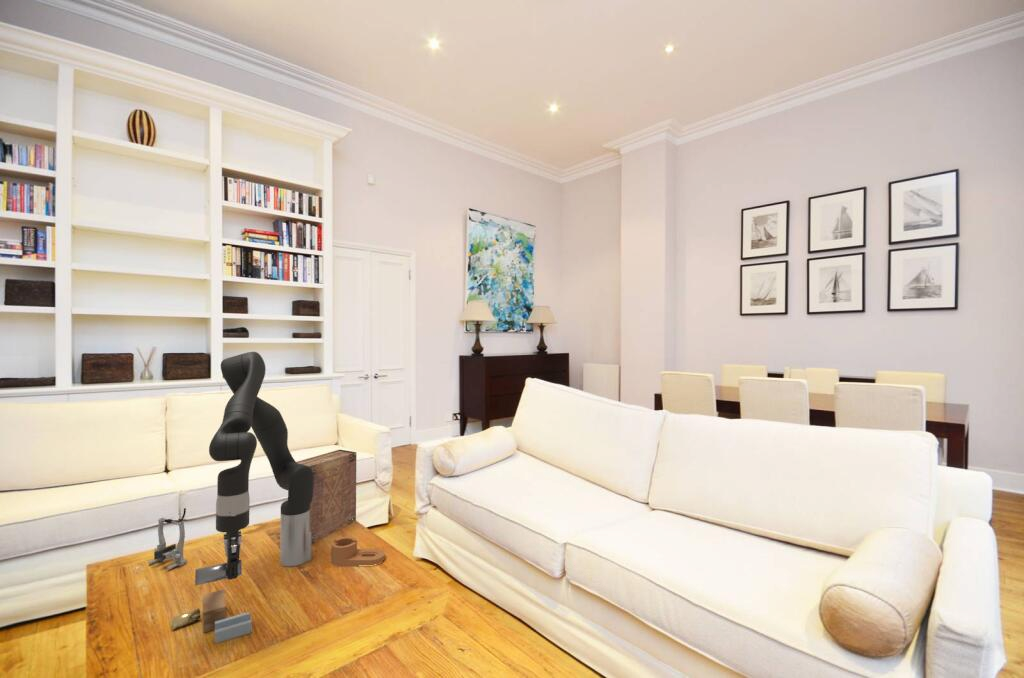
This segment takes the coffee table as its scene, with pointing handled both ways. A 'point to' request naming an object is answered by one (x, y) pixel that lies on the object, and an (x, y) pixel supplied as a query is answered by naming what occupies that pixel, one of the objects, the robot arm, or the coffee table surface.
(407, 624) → the coffee table surface
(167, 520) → the bike brake
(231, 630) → the cradle
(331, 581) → the coffee table surface
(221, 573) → the axle
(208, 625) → the beam
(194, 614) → the cylinder
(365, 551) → the bracket
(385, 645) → the coffee table surface
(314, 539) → the book
